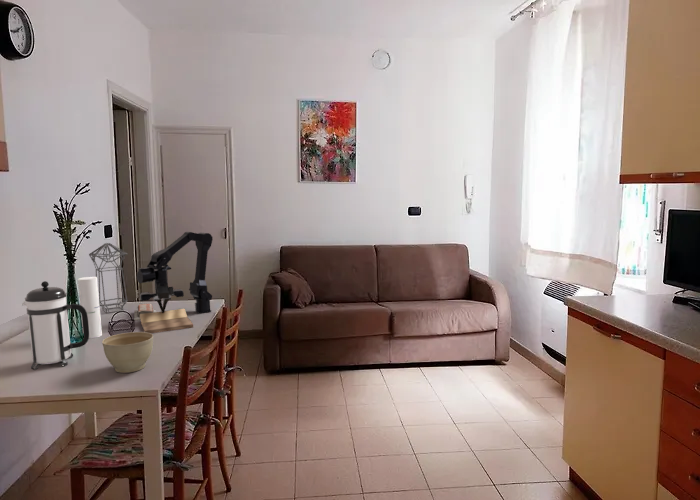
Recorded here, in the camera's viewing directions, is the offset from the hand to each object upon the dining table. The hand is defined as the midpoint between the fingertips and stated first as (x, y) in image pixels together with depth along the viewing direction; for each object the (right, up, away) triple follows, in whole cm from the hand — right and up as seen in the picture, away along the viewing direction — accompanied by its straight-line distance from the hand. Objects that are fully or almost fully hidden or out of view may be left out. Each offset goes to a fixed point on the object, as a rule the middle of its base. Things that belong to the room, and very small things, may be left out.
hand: (163, 312), depth 240 cm
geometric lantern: (-34, -2, +23) cm, 41 cm away
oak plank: (+1, -2, -1) cm, 3 cm away
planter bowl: (+12, -12, -63) cm, 65 cm away
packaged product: (-13, -3, +11) cm, 17 cm away
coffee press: (-18, -11, -55) cm, 59 cm away
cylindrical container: (-22, -7, -22) cm, 32 cm away
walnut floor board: (+6, -5, -11) cm, 13 cm away
